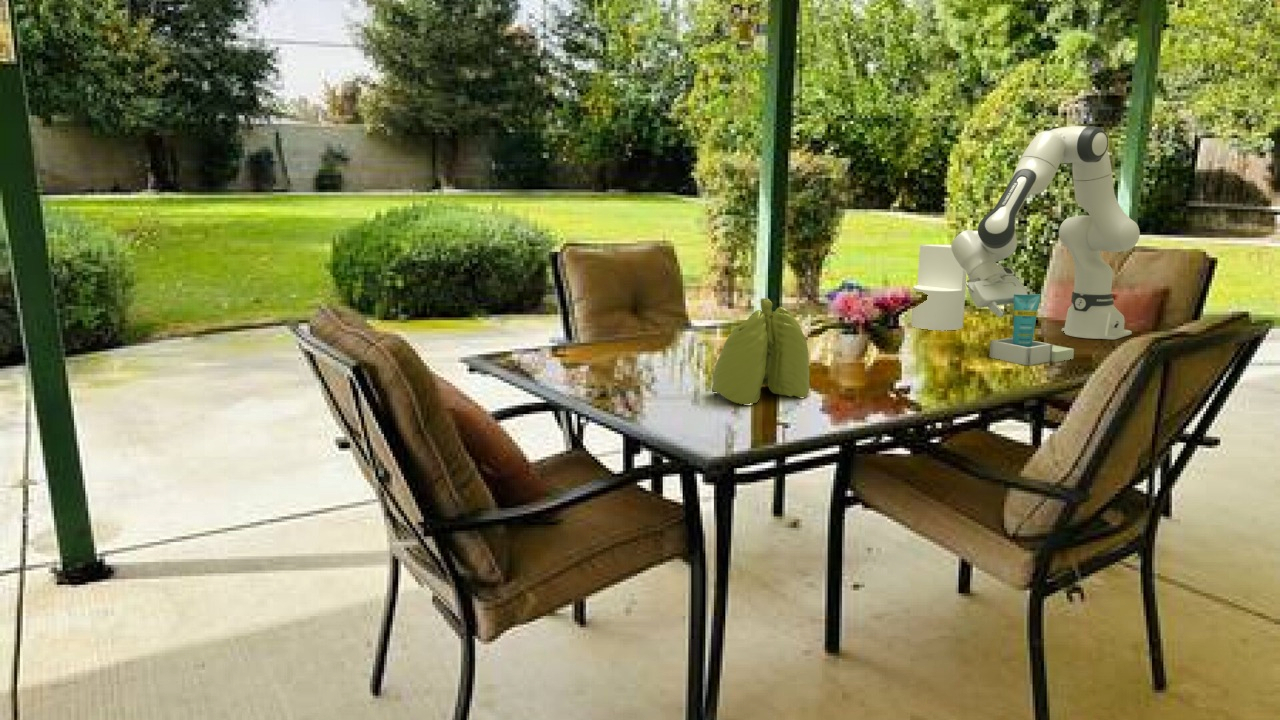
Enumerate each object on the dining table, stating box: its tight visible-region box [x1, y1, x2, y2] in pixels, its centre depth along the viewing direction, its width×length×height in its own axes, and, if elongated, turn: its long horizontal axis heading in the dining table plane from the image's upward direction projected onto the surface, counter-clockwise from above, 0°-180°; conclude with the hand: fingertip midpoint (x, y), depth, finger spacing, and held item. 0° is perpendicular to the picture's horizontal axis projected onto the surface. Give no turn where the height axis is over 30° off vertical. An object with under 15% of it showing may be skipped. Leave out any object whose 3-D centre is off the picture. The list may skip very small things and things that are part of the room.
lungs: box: [711, 297, 810, 405], centre depth 223 cm, size 25×16×24 cm, turn 115°
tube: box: [1012, 293, 1041, 347], centre depth 262 cm, size 7×5×19 cm, turn 90°
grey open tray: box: [988, 336, 1075, 366], centre depth 265 cm, size 18×16×5 cm
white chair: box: [910, 244, 967, 332], centre depth 314 cm, size 17×17×28 cm
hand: (1012, 314), depth 265 cm, fingers open, 8 cm apart
